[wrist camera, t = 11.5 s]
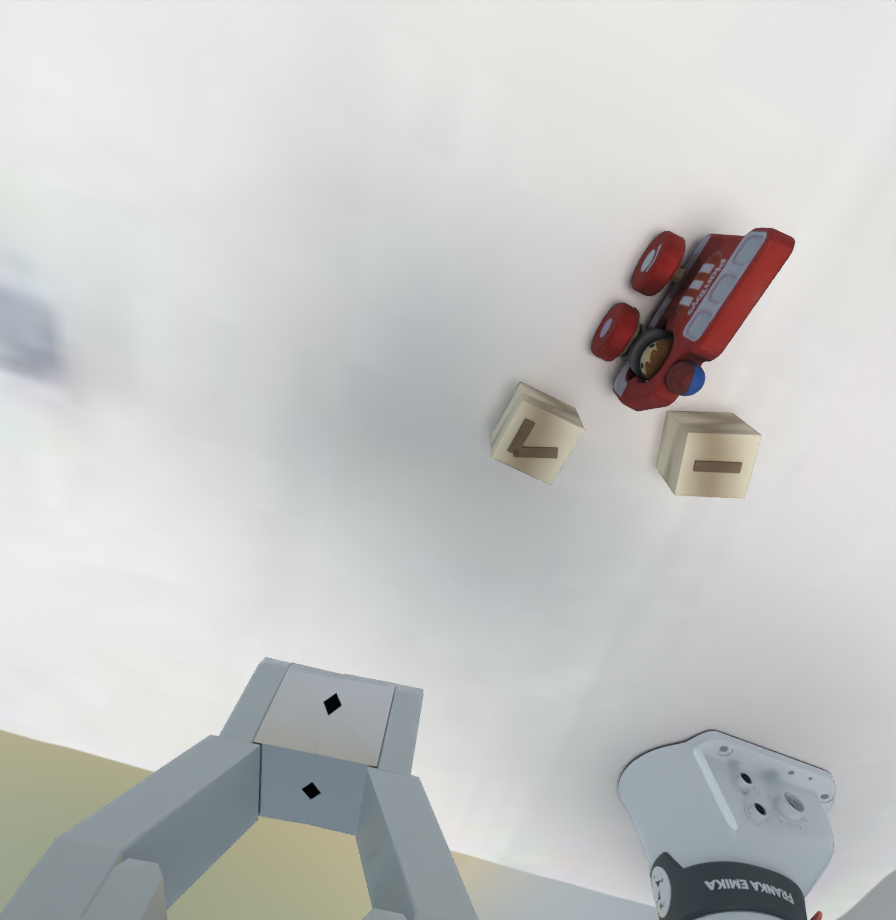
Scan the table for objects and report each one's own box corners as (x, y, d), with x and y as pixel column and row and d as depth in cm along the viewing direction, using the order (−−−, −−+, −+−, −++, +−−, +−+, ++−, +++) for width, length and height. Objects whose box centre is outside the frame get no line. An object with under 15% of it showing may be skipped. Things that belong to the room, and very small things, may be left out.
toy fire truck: (573, 367, 40) (597, 409, 30) (668, 207, 35) (733, 197, 25) (649, 406, 40) (696, 459, 31) (753, 254, 35) (848, 262, 26)
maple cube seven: (575, 407, 41) (585, 430, 36) (544, 458, 43) (550, 486, 38) (519, 381, 40) (522, 400, 36) (491, 433, 42) (490, 458, 38)
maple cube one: (731, 412, 40) (763, 436, 35) (717, 470, 42) (745, 499, 37) (666, 410, 40) (689, 433, 36) (655, 467, 42) (675, 496, 38)
